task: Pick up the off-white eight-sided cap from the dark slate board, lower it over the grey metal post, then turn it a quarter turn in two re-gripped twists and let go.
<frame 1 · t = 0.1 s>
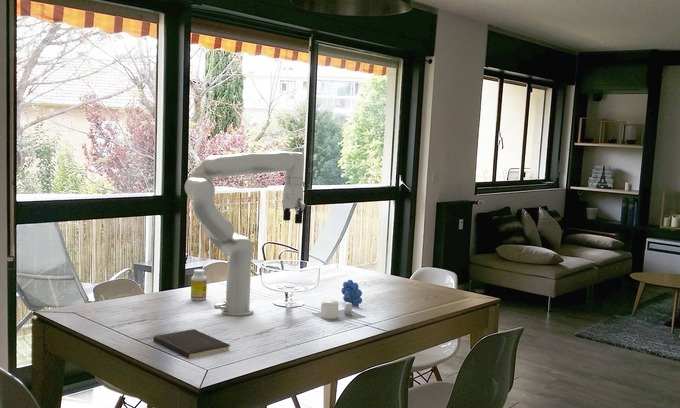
hand: (292, 221, 287), 37 cm above the table, tool pointing down, fingers open, 9 cm apart
grapes: (349, 308, 295), on the table
board: (338, 318, 275), on the table
cap: (329, 316, 272), point 1 cm above the table, touching board
hardcover book: (191, 347, 231), on the table
supplement bottle: (198, 299, 296), on the table
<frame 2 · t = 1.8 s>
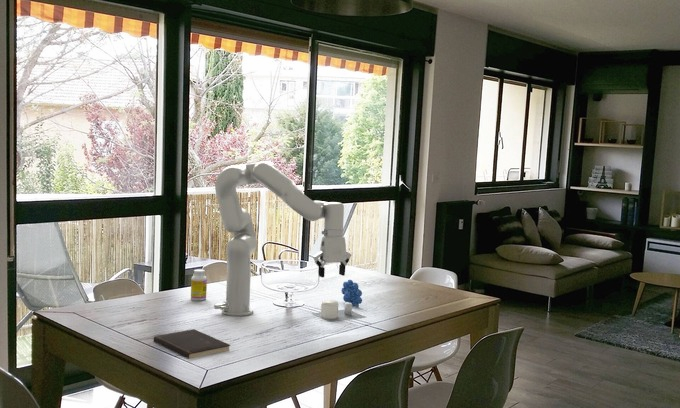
hand: (331, 275, 271), 18 cm above the table, tool pointing down, fingers open, 9 cm apart
nothing on the table moved.
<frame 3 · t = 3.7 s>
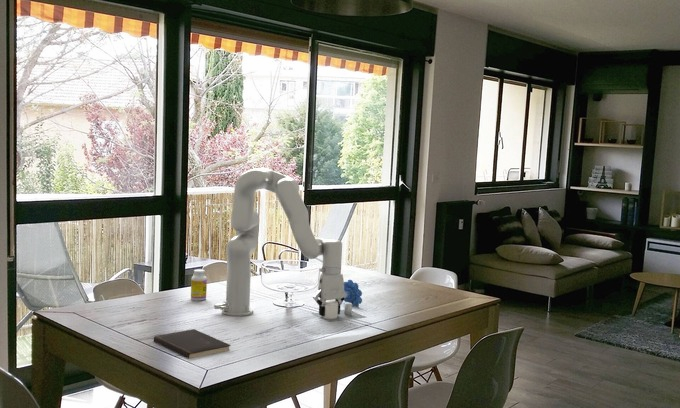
hand: (329, 314, 272), 2 cm above the table, tool pointing down, fingers closed on cap, 6 cm apart
cap: (329, 316, 272), point 1 cm above the table, touching board, gripper
everything else where it was.
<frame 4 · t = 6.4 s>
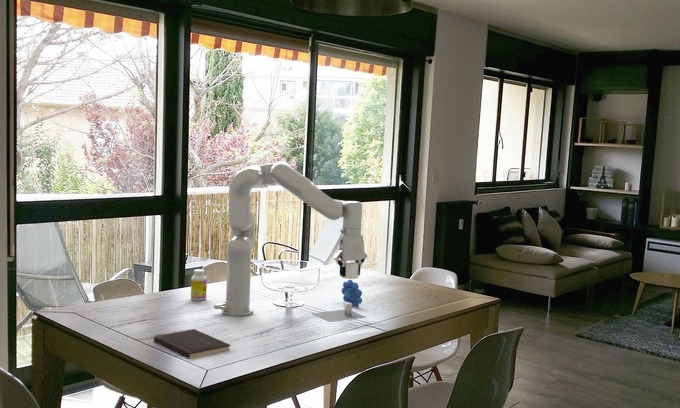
hand: (349, 275, 276), 18 cm above the table, tool pointing down, fingers closed on cap, 6 cm apart
cap: (349, 277, 276), point 17 cm above the table, touching gripper
everything else where it was.
when the fingers open (3 cm above the table, at t = 9.4 s): cap stays where it is, resting on board.
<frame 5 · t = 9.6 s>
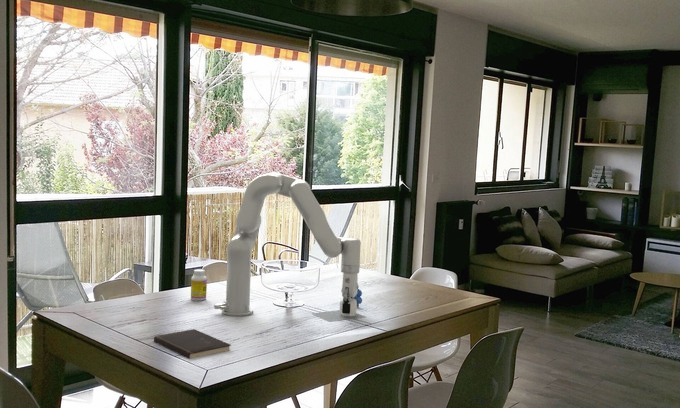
hand: (348, 310, 277), 3 cm above the table, tool pointing down, fingers open, 8 cm apart
cap: (347, 314, 277), point 1 cm above the table, touching board
everything else where it was.
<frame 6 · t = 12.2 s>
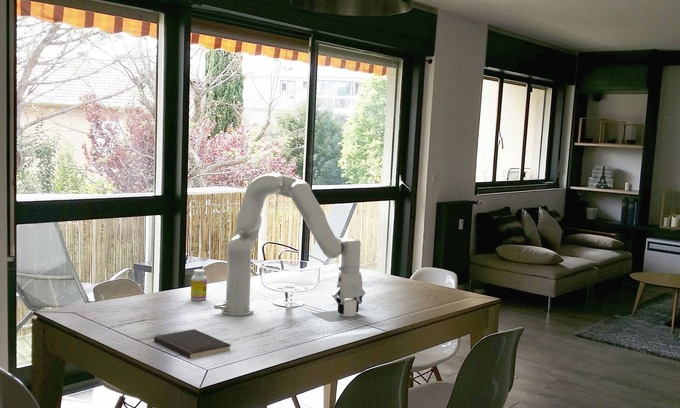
hand: (348, 312, 277), 2 cm above the table, tool pointing down, fingers closed on cap, 6 cm apart
cap: (347, 314, 277), point 2 cm above the table, touching board, gripper
everything else where it was.
when the fingers open (2 cm above the table, at t = 13.4 s): cap stays where it is, resting on board.
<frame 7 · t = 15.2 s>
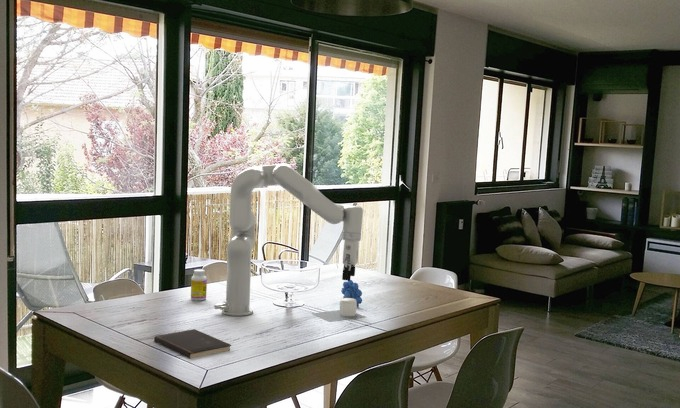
hand: (348, 277, 276), 16 cm above the table, tool pointing down, fingers open, 9 cm apart
cap: (347, 314, 277), point 1 cm above the table, touching board
everything else where it was.
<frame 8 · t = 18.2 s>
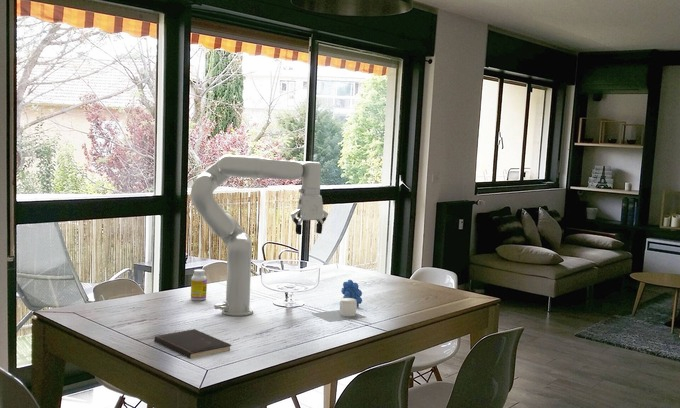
hand: (308, 233, 278), 33 cm above the table, tool pointing down, fingers open, 9 cm apart
nothing on the table moved.
at the end: cap 0.0 cm from the target spot on the board, point 1.5 cm above the board's base; cap tilted 0°; the gripper is holding nothing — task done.
